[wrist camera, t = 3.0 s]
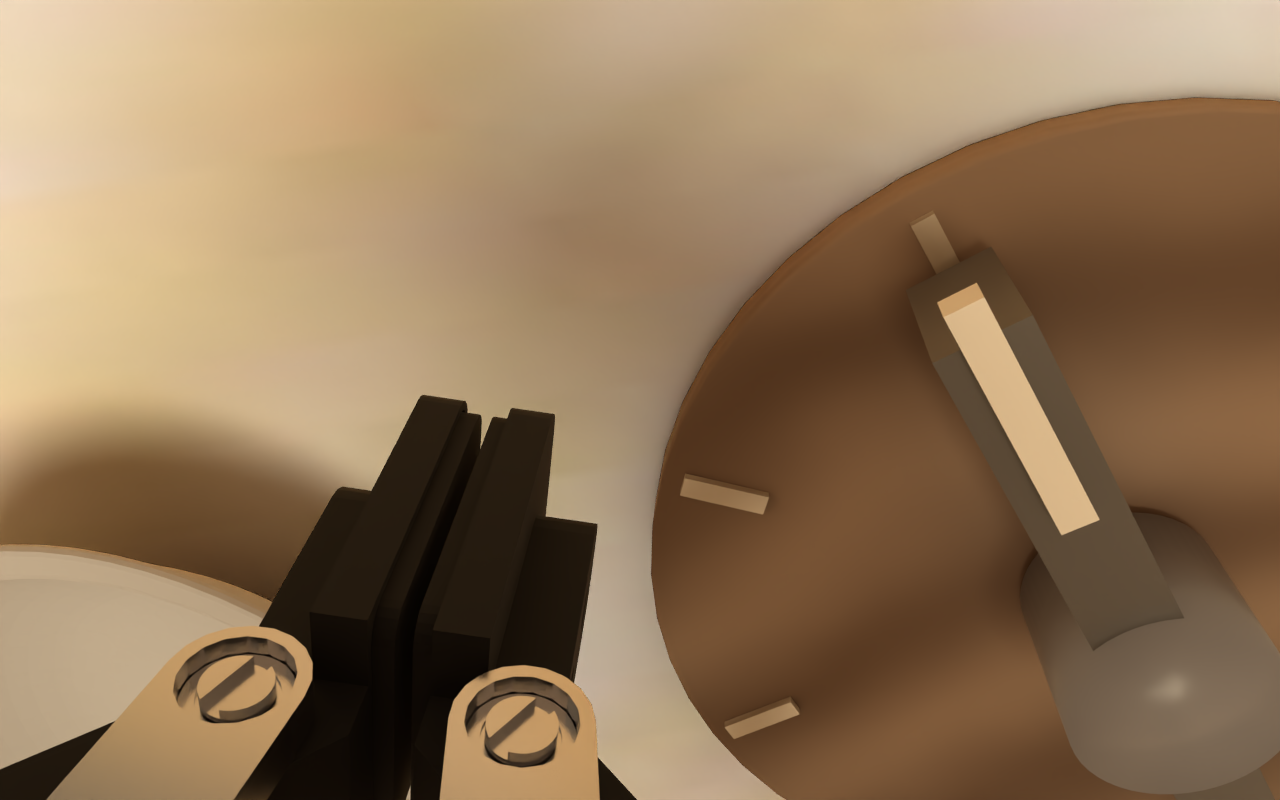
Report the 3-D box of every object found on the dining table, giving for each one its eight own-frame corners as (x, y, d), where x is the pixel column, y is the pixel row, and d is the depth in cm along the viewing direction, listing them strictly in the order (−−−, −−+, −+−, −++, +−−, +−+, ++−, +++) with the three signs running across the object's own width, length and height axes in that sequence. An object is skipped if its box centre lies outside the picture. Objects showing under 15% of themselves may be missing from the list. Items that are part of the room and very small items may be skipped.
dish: (647, 753, 30) (631, 910, 26) (325, 914, 35) (267, 1067, 31) (184, 318, 24) (63, 426, 20) (-120, 589, 29) (-269, 721, 25)
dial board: (1688, 686, 26) (1735, 729, 24) (887, 920, 33) (893, 962, 32) (1492, -148, 17) (1549, -146, 16) (482, 407, 25) (468, 437, 23)
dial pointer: (1332, 806, 27) (1423, 957, 23) (1163, 854, 28) (1224, 1004, 25) (1031, 164, 19) (1098, 240, 16) (822, 275, 21) (840, 368, 17)
